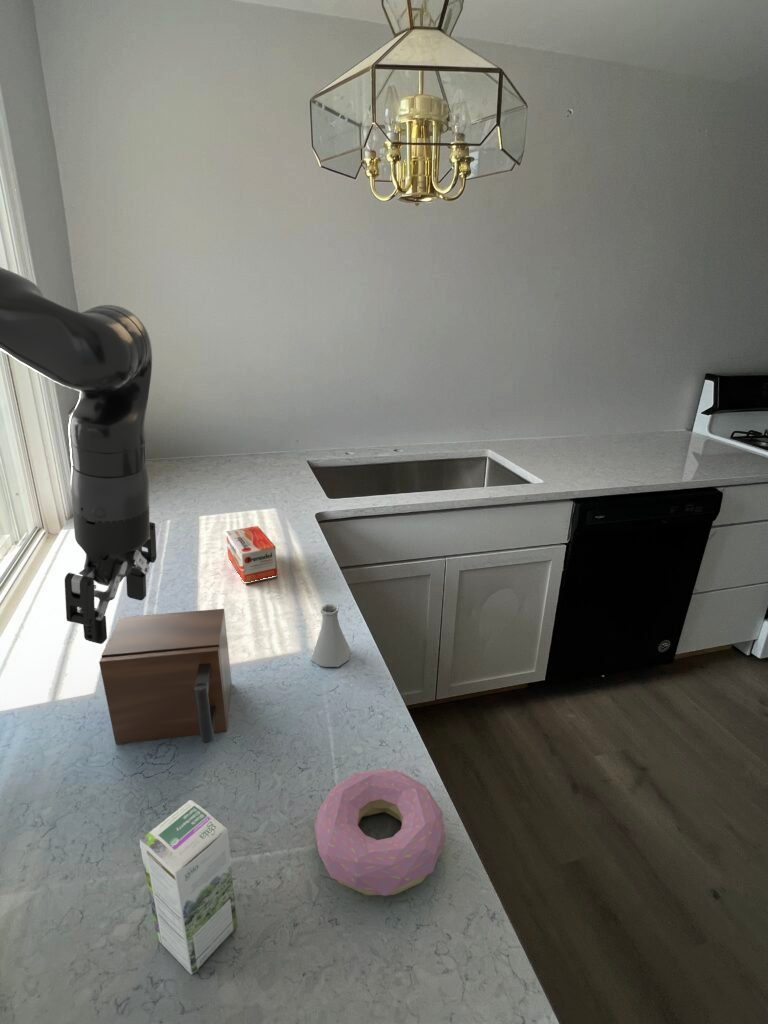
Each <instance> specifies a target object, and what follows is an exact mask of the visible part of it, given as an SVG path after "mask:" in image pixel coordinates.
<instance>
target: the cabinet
mask: <svg viewBox="0 0 768 1024" xmlns="http://www.w3.org/2000/svg"><path fill="white" fill-rule="evenodd" d="M225 612H226V611H225V608H215V609H203V610H193V611H190V610H189V611H180V612H179V611H178V612H168V613H154V614H144V615H143V614H141V615H130V616H120V617H118V618H117V619H118V620H117V621H116V623H115V626H114V628H113V630H112V632H111V634H110V635H109V638H108V641H107V642H106V644H105V647H104V649H103V651H102V653H101V658H104V657H115V656H125V655H136V654H147V653H157V652H168V651H179V650H189V649H200V648H211V647H219V654H220V663H221V672H222V682H223V691H224V700H225V710H226V719H227V726H228V724H229V714H230V704H231V695H232V686H233V684H232V673H231V663H230V654H229V644H228V636H227V635H228V633H227V624H226V623H227V622H226V614H225Z"/></svg>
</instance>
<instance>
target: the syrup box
mask: <svg viewBox="0 0 768 1024" xmlns="http://www.w3.org/2000/svg"><path fill="white" fill-rule="evenodd" d="M229 837H230V836H229V830H228V828H227V827H226V826H224V825H223V824H222V823H221V822H219V821H218V820H217V819H216V818H215V817H213V815H211V814H210V813H209V812H208V811H206V810H205V809H204V808H203V807H201V806H200V805H199V804H197V803H196V802H195V801H194V800H192V799H189V800H188V801H187V802H185V803H184V804H183V805H182V806H180V807H179V808H178V809H177V810H176V811H174V812H173V813H172V814H170V815H169V816H168V817H166V818H165V819H164V820H163V821H161V823H159V824H158V825H157V826H155V827H154V828H152V830H151V831H149V832H148V833H146V834H145V835H144V836H143V837H142V838H140V839H139V846H140V852H141V858H142V863H143V868H144V874H145V879H146V884H147V890H148V895H149V901H150V906H151V911H152V919H153V923H154V930H155V934H156V939H157V941H158V942H159V943H160V944H161V945H162V947H164V948H165V949H166V950H167V951H168V952H169V953H170V954H171V955H172V957H174V958H175V959H176V961H178V963H179V964H180V965H182V967H183V968H184V969H185V970H186V971H187V972H188V973H189V974H190V975H191V976H194V975H195V974H196V973H197V972H198V971H199V969H200V968H201V967H203V965H204V964H205V963H206V962H207V961H208V960H209V958H211V956H213V954H214V953H215V952H216V951H217V950H218V949H219V948H220V946H222V944H223V943H224V942H225V941H226V940H227V939H228V938H229V937H230V936H231V935H232V934H233V932H234V931H235V930H236V929H237V928H238V922H237V921H238V920H237V911H236V901H235V900H236V899H235V890H234V881H233V880H234V879H233V869H232V868H233V867H232V858H231V850H230V838H229Z"/></svg>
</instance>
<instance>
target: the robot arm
mask: <svg viewBox="0 0 768 1024" xmlns="http://www.w3.org/2000/svg"><path fill="white" fill-rule="evenodd" d="M0 351H2V352H3V353H6V354H7V355H9V356H10V357H12V358H13V359H15V360H16V361H18V362H19V363H21V364H23V365H24V366H27V367H28V368H30V369H31V370H33V371H35V372H37V373H39V374H41V375H42V376H44V377H45V378H47V379H49V380H51V381H53V382H55V383H57V384H59V385H61V386H63V387H66V388H69V389H71V390H75V391H78V392H79V399H78V401H77V404H76V406H75V408H74V410H73V412H72V413H71V415H70V418H69V422H68V440H69V452H70V463H71V473H70V495H71V496H70V497H71V508H72V519H73V530H74V539H75V541H76V543H77V545H78V546H79V547H80V548H81V549H82V551H84V553H85V561H84V565H83V569H82V570H81V571H79V572H78V573H74V572H68V573H67V574H66V575H65V577H64V596H65V597H64V598H65V615H66V616H65V617H66V618H65V619H66V621H67V622H69V623H75V624H78V625H83V626H82V627H83V637H84V640H85V641H88V642H92V643H95V644H99V645H102V644H104V643H105V642H106V641H107V639H108V632H107V631H108V629H107V616H106V612H107V609H108V605H109V603H110V601H113V600H114V599H115V598H116V595H117V592H118V589H119V585H120V583H121V582H122V581H123V579H124V578H126V581H125V582H126V595H127V597H128V598H129V599H133V600H137V601H143V600H144V599H145V598H146V597H147V575H148V573H149V571H150V563H152V564H154V563H155V562H156V560H157V556H158V555H157V539H156V538H157V537H156V523H155V522H151V521H150V480H149V475H148V470H147V441H146V440H147V437H146V428H145V427H146V426H145V425H146V424H145V423H146V422H145V421H146V413H147V407H148V403H149V395H150V388H151V381H152V371H153V348H152V342H151V337H150V335H149V333H148V330H147V328H146V327H145V324H144V323H143V322H142V321H141V320H140V319H139V317H138V316H136V314H134V313H133V312H131V311H130V310H129V309H127V308H125V307H122V306H119V305H115V304H101V305H97V306H94V307H91V308H89V309H87V310H84V311H82V312H81V311H77V310H74V309H71V308H68V307H66V306H63V305H61V304H59V303H57V302H55V301H53V300H50V299H48V298H46V297H45V295H44V293H43V292H42V290H41V288H40V287H39V286H38V285H36V283H34V282H33V281H32V280H29V279H28V278H26V277H24V276H22V275H20V274H18V273H16V272H14V271H12V270H11V271H10V270H8V269H6V268H3V267H1V266H0ZM143 548H145V549H147V551H146V550H143ZM95 583H97V584H98V585H102V586H106V587H107V589H106V590H104V591H103V590H100V589H97V584H95ZM95 598H97V599H98V600H99V601H98V604H97V607H95Z"/></svg>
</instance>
